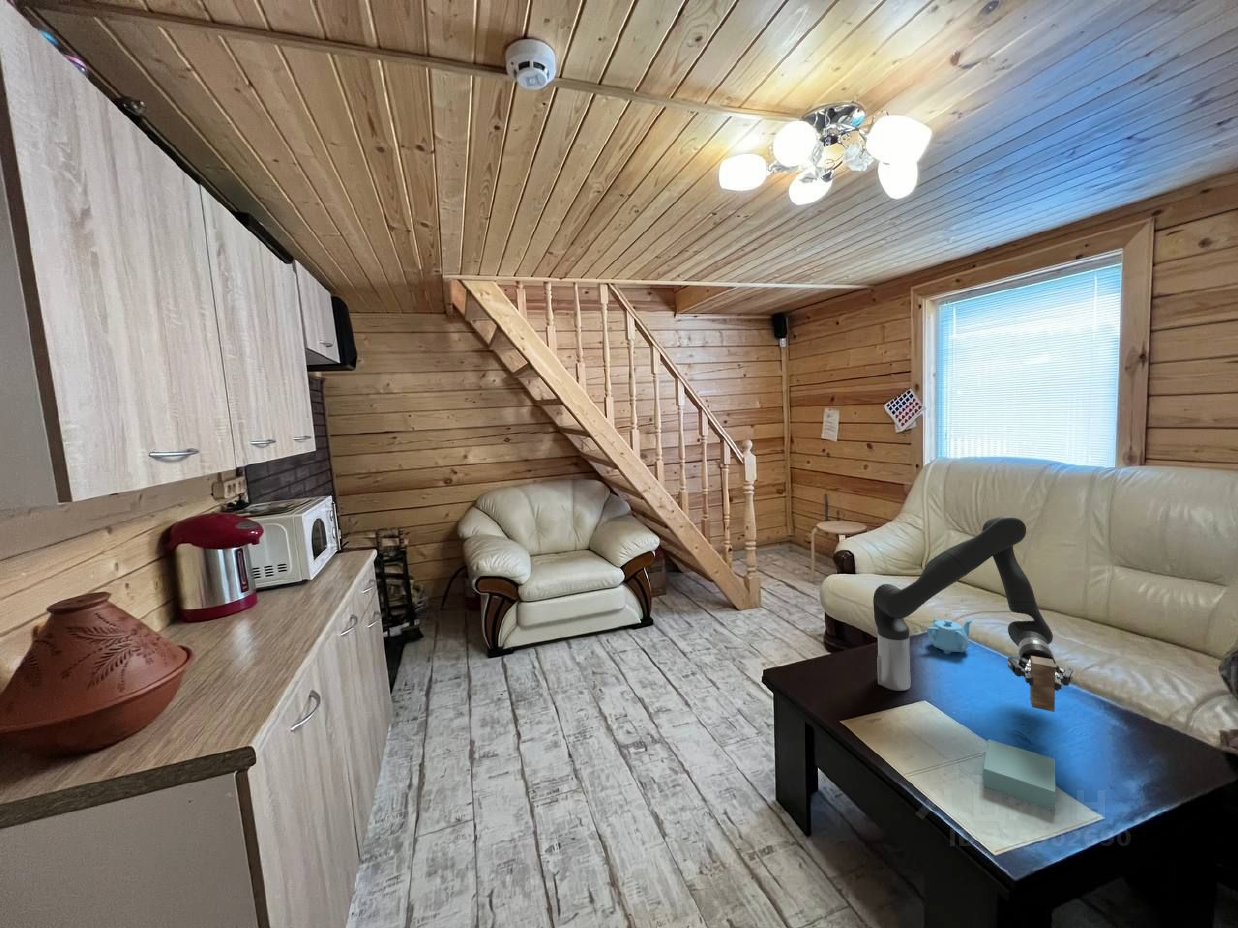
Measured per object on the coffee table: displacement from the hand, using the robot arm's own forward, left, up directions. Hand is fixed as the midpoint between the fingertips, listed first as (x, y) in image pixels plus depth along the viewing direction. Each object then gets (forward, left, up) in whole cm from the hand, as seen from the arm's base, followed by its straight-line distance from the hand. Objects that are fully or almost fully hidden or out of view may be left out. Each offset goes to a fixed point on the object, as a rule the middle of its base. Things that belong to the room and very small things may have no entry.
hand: (1044, 684), depth 126 cm
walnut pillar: (0, +3, -7) cm, 8 cm away
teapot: (-21, +56, -20) cm, 63 cm away
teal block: (-6, -13, -20) cm, 25 cm away
